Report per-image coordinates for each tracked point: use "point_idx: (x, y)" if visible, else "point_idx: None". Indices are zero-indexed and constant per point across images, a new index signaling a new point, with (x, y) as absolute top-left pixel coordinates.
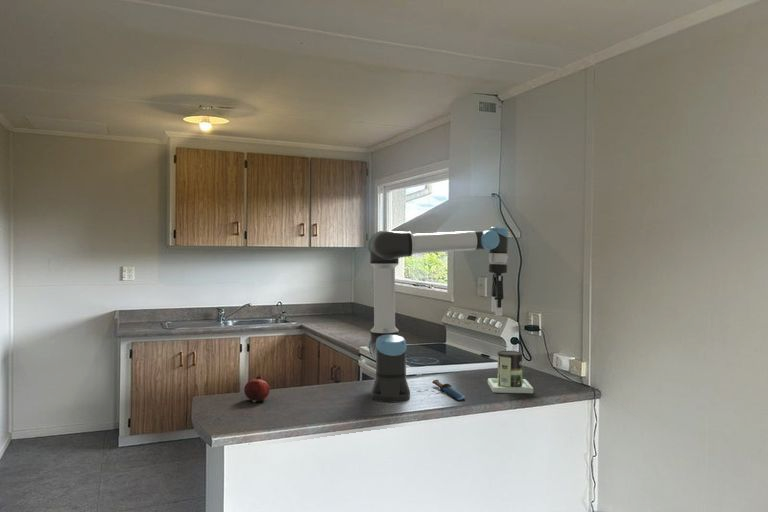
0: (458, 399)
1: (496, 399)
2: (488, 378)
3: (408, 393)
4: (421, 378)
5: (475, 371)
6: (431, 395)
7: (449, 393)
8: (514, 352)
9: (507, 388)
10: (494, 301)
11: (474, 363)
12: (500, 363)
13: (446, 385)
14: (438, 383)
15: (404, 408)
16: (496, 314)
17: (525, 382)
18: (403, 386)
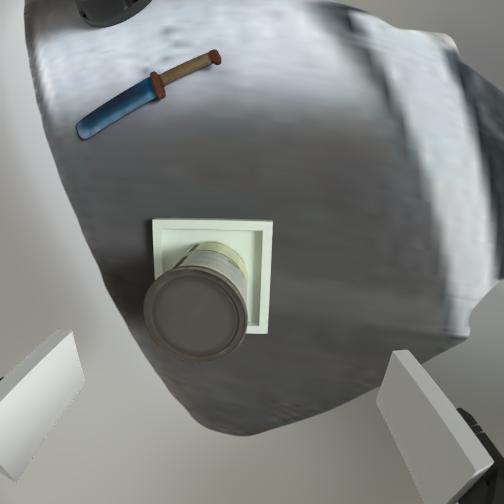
0: (77, 124)
1: (95, 217)
2: (269, 223)
3: (92, 21)
4: (314, 37)
5: (416, 210)
6: (126, 61)
7: (111, 99)
8: (212, 339)
9: (154, 260)
10: (431, 450)
11: (489, 228)
12: (175, 263)
13: (153, 85)
14: (184, 64)
15: (50, 39)
16: (56, 340)
17: None
18: (82, 8)
